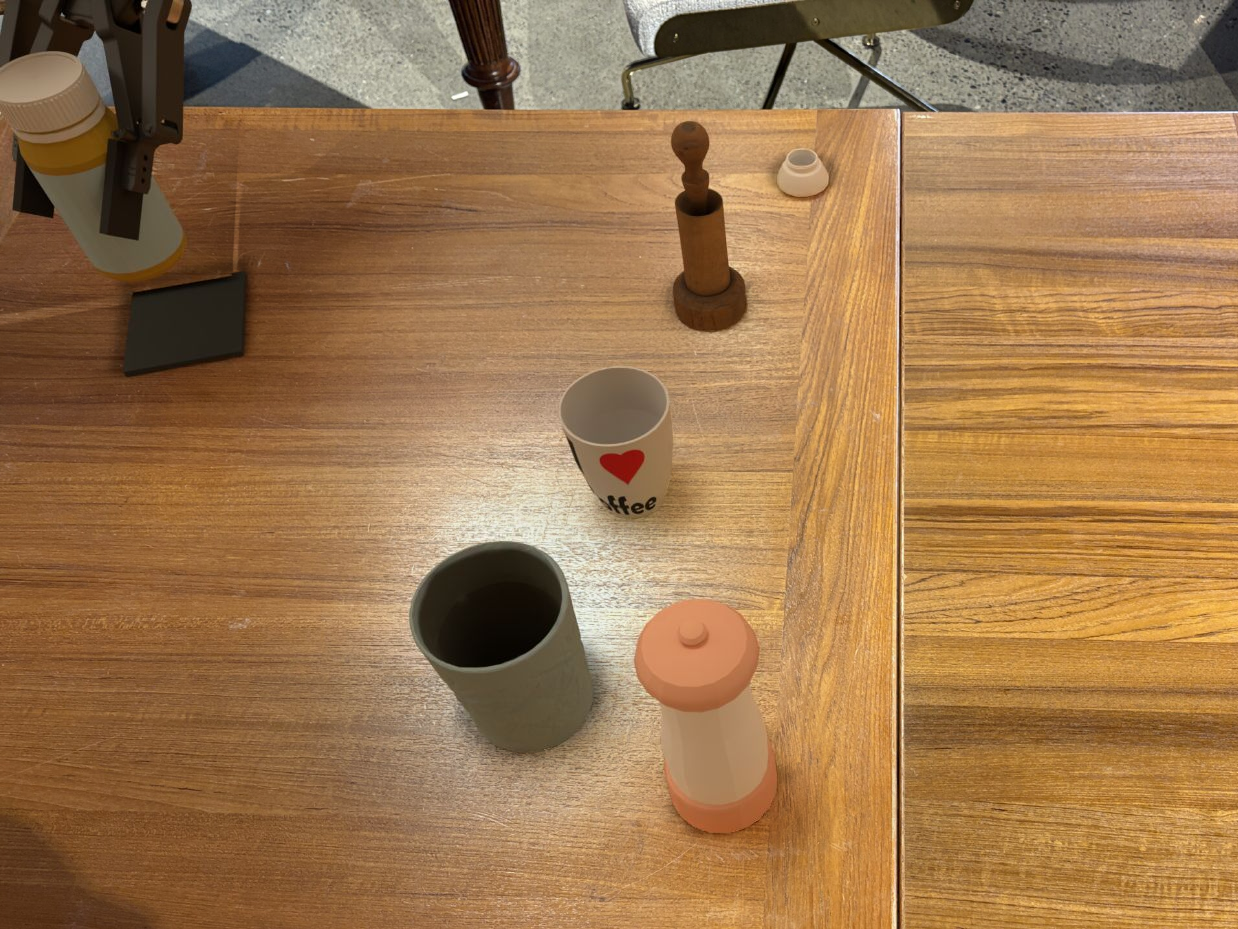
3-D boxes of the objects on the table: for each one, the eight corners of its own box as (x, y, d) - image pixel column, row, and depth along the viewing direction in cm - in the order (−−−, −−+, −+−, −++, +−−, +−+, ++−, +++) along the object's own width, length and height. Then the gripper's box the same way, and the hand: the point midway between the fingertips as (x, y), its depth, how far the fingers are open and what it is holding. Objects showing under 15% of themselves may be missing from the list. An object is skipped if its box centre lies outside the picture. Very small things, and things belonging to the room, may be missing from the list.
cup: (566, 518, 94) (538, 430, 86) (611, 445, 98) (588, 355, 90) (659, 545, 92) (640, 458, 84) (701, 470, 97) (687, 380, 88)
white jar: (768, 192, 117) (815, 205, 115) (767, 166, 114) (814, 179, 113) (791, 163, 119) (837, 176, 118) (790, 137, 117) (836, 149, 115)
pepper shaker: (686, 729, 83) (646, 564, 67) (788, 747, 82) (771, 584, 66) (657, 823, 79) (606, 672, 63) (763, 843, 78) (739, 695, 63)
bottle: (100, 296, 91) (-19, 117, 78) (93, 241, 94) (-21, 61, 82) (195, 271, 92) (93, 91, 80) (185, 218, 96) (85, 38, 83)
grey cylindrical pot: (561, 781, 81) (520, 691, 71) (432, 737, 83) (375, 643, 73) (626, 662, 86) (596, 562, 77) (503, 623, 89) (458, 522, 79)
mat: (126, 376, 104) (122, 371, 103) (136, 294, 110) (132, 289, 110) (244, 355, 105) (241, 350, 105) (247, 275, 111) (244, 270, 111)
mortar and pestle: (761, 312, 107) (746, 132, 92) (699, 342, 105) (673, 162, 90) (722, 272, 110) (701, 91, 95) (661, 300, 108) (630, 120, 93)
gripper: (-60, -163, 80) (-83, 187, 85) (186, -118, 76) (146, 247, 81) (39, -115, 87) (13, 205, 93) (269, -71, 83) (228, 262, 88)
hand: (75, 225), depth 87 cm, fingers closed on bottle, 7 cm apart
